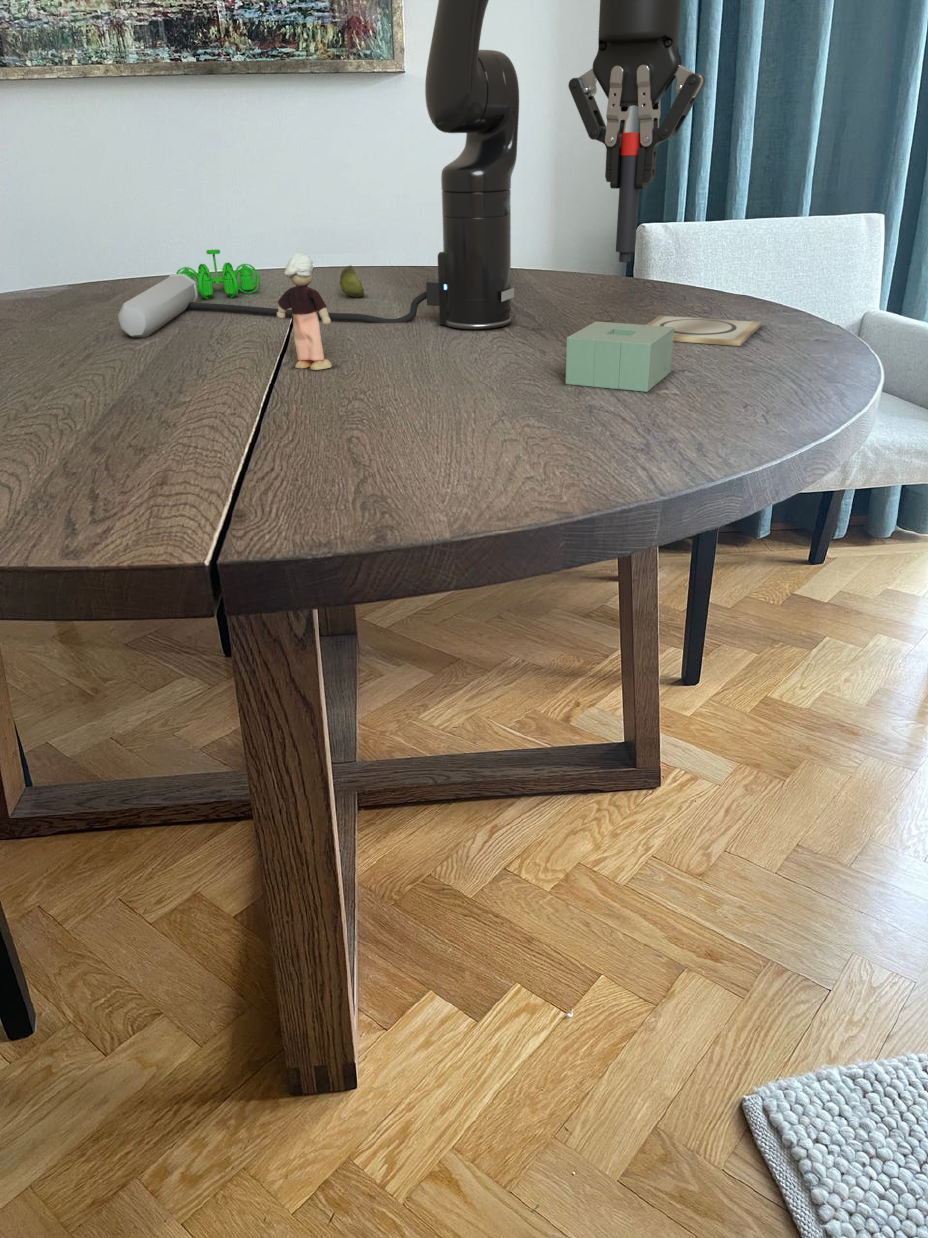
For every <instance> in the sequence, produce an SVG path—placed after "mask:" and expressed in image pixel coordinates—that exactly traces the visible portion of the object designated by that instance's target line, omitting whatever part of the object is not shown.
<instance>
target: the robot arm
mask: <svg viewBox="0 0 928 1238" xmlns="http://www.w3.org/2000/svg"><path fill="white" fill-rule="evenodd" d="M489 1H490V0H438V2H437V8H436V12H435V20H434V25H433V31H432V35H431V36H432V37H431V42H430V48H429V52H428V53H429V54H428V60H427V65H426V73H425V85H424V87H425V88H424V95H425V97H424V98H425V106H426V111H427V114H428V117H429V119H430V121H431V123H432V124H433V126H434V127H435V128H436V129H437V130H438V131H440V132H442V133H444V134H445V133H446V134H466V137H465V144H464V148H463V150H462V151H461V153H460V154H459V155H458V156H457V157H456V158H455V159H454V160H452V161H451V162H450V163H447V165H445V166H444V167H442V170H441V172H440V173H441V175H440V184H441V185H440V187H441V188H440V190H441V210H442V211H441V215H442V216H441V217H442V218H441V219H442V247H443V248H442V249H443V251H440V252H438V254H437V273H438V274H437V277H438V278H434V279H431V280H429V281H426V282H425V291H424V292H422V293H420V294H418V295H417V296H415V298H414V299H412V301H411V303H410V308H409V312H408V313H407V314H405V315H404V316H401V317H396V318H385V317H379V316H374V315H369V314H363V313H348V312H347V313H345V312H328V314H329V318H330V319H331V321H357V322H365V323H369V324H370V323H371V324H398V323H399V324H400V323H401V324H402V323H409V322H411V321H412V320H414V319H415V317H416V315H417V312H418V307H419V305H420V304H421V303H422V302H423V301H425V300H426V306H429V307H430V306H431V307H432V306H433V307H439V309H438V310H439V325H441V326H447V327H450V328H454V329H461V330H488V329H497V328H502V327H506V326H508V325H510V324H511V323H512V316H511V311H512V305H511V299H513V298H515V287H513V288H512V287H511V285H512V283H511V279H512V278H511V276H512V272H511V269H512V268H511V265H512V263H511V262H512V261H511V258H512V257H511V254H512V253H511V252H512V251H511V250H512V248H511V244H512V243H511V242H512V241H511V240H512V239H511V238H512V235H511V234H512V233H511V228H512V226H511V215H512V214H511V208H512V207H511V206H512V205H511V202H512V201H511V197H512V196H511V194H512V193H511V192H512V191H511V189H512V187H511V186H512V175H513V172H514V170H515V166H516V163H517V157H518V156H517V155H518V138H519V137H518V136H519V134H518V133H519V118H520V87H519V78H518V74H517V71H516V68H515V65H514V63H513V62H512V60H511V59H510V57H509V56H508V55H506V54H505V53H503V52H502V51H499V50H493V49H480V44H481V36H482V29H483V25H484V24H483V23H484V18H485V14H486V11H487V7H488V4H489ZM682 2H683V0H599V15H598V17H599V18H598V36H597V37H598V40H597V41H598V42H597V43H598V48H597V52H596V55H595V57H594V60H593V62H592V68H590V69H588V71H586V72H584V73H583V74H581V75H580V76H579V77H573V78H571V79H569V81H568V84H567V85H568V86H567V87H568V89H569V92H570V95H571V97H572V99H573V101H574V104H575V107H576V109H577V111H578V114H579V115H580V119H581V121H582V123H583V126H584V128H585V131H586V133H587V135H588V138H589V139H590V140H593V141H594V140H596V141H598V142H600V143H602V144H603V145H604V146H605V148H606V149H605V150H606V151H605V175H604V177H605V181H606V183H609V186H610V189H613V190H614V189H615V190H616V189H618V190H619V185H620V168H621V141H622V133H626V128H627V122H628V119H629V117H630V110H631V107H633V106H635V107H637V116H638V120H639V132H640V142H641V147H640V148H638V159H637V175H636V189H639V190H645V189H648V188H649V185H650V183H653V181H654V180H655V178H656V169H657V166H656V165H657V154H658V147H659V146H660V144H661V143H663V142H666V141H668V140H670V139H674V138H675V137H676V136H677V135H678V133H679V132H680V130H681V127H682V126H683V125H684V122H685V120H686V118H687V117H688V115H689V113H690V111H691V109H692V108H693V106H694V104H695V102H696V101H697V99H698V96H699V95H700V93H701V92H702V90H703V88H704V86H705V84H706V77H705V76H704V75H703V74H701V73H696V72H693V71H692V70H690V69H689V68H687V67H685V66H684V65H683V59H682V56H681V54H680V49H679V40H680V39H679V38H680V28H681V27H680V26H681V14H682V13H681V12H682ZM675 79H676V84H675V87H674V88H675V93H676V94H677V95H676V97H675V99H674V101H673V104H672V105H671V106H670V109H669V110H668V112H667V114H666V116H665V117H664V120H663V121H662V123H661V125H660V118H661V99H662V98H663V97H664V95H665V94H666V93H667V91H668V89H669V88H670V86H671V85H672V83H673V82H674V80H675ZM597 82H598V84H599V85H600V87H601V89H602V91H603V93H604V95H605V96H606V98H607V105H606V114H605V115H606V123H605V121H604V118H603V116H602V113H601V110H600V108H599V106H598V103H597V101H596V98H595V96H596V94H597V92H598V88H597ZM186 310H202V311H203V310H204V311H205V310H206V311H222V312H236V313H247V314H257V315H269V316H277V312H278V308H275V307H261V306H251V305H250V306H248V305H240V304H239V305H237V304H226V303H225V304H224V303H209V302H208V303H207V302H195V303H189V305H188V306H187V309H186ZM317 315H318V320H322V318H321V317H320V315H319V312H318V311H317ZM285 317H291V318H293V315H292V309H287V311H286V312H285Z"/></svg>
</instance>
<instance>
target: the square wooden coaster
mask: <svg viewBox="0 0 928 1238" xmlns="http://www.w3.org/2000/svg"><path fill="white" fill-rule="evenodd" d="M645 325H652V326H666V327H674V339H673V342H677V343H678V342H679V343H692V344H703V345H704V344H705V345H717V346H718V345H721V346H730V347H731V346H732V347H741V346H742V345H743V344H744V343H746V341H747V340H749V338H750V337H751V336H752V335H754V333H756V332H757V330H758V329H760V328H761V326H762V322H761V321H750V320H749V321H748V320H734V319H733V320H732V319H719V318H701V317H686V316H672V315H659V316H657V317H656V318H654V319H652V320H651V321H649V322H647V323H646V324H645Z"/></svg>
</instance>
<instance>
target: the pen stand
mask: <svg viewBox="0 0 928 1238" xmlns="http://www.w3.org/2000/svg"><path fill="white" fill-rule="evenodd" d="M673 339H674V327H666V326H652V325H646V324H635V323H622V322H608V321H594V322H592V323H591V324H589V325H587V326H584V327H582V329H580V330H578V331H576V332H574V333H573V334H571V335H569V336H567V337H566V354H565V356H566V357H565V358H566V359H565V385H571V386H581V387H591V388H592V387H594V388H602V389H612V390H622V391H632V392H643V393H648V392H649V391H650V390H652V388H654V387H655V386H656V385H657V384H658V383H660V382H661V381H662V380H664V378H665V377H667V376H668V375H669V374H671V372H672V363H673V362H672V361H673V349H674V341H673Z"/></svg>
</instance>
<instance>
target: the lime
mask: <svg viewBox="0 0 928 1238" xmlns="http://www.w3.org/2000/svg"><path fill="white" fill-rule="evenodd" d="M339 277H340V278H339V286H340V289H341V291H342V293H344V294H345V295H346V296H349V297H352V298H362V297H365V290H364V287H363V284H362V282H361V280H360V278H359V276H358V274H357V273H356V270H355V269H354V267H353V265H347V266H346V267H344V268H343V269H342V271H341V272H340V276H339Z"/></svg>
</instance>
